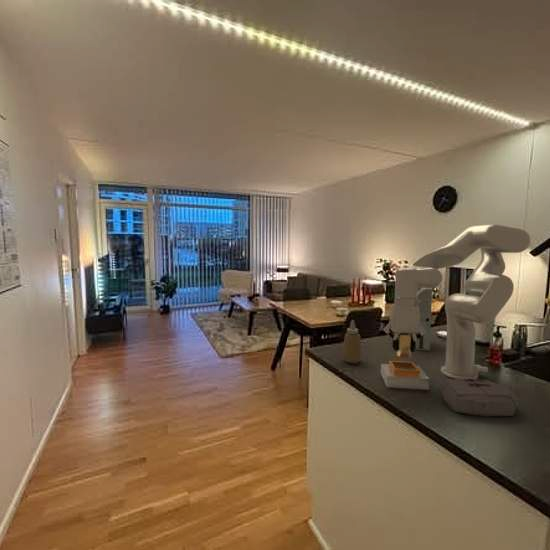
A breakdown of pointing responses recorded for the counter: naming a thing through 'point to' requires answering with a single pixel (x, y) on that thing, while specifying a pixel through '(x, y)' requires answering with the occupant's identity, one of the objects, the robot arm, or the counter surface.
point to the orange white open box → (404, 375)
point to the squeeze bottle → (352, 345)
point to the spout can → (404, 345)
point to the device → (424, 317)
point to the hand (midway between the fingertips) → (403, 350)
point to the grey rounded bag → (478, 397)
